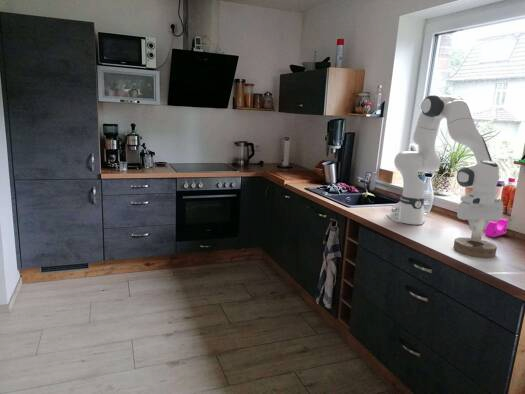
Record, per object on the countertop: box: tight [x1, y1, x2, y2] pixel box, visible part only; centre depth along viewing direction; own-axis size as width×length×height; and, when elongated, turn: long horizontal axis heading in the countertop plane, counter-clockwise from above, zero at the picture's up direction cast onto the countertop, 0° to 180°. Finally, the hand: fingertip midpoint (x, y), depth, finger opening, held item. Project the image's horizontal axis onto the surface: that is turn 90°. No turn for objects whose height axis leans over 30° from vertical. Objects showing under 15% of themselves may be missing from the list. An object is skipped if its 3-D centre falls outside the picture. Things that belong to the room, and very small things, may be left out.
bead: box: [453, 236, 498, 259], centre depth 174 cm, size 16×16×4 cm
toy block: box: [484, 218, 509, 238], centre depth 207 cm, size 15×6×8 cm, turn 126°
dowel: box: [470, 219, 485, 241], centre depth 172 cm, size 4×4×10 cm
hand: (477, 229), depth 172 cm, fingers closed on dowel, 4 cm apart
